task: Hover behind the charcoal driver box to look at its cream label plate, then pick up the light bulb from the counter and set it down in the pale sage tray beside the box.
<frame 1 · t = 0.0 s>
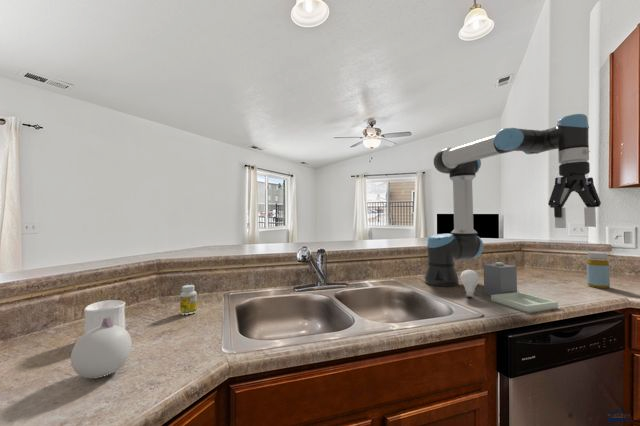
hand: (575, 227, 93), 28 cm above the worktop, fingers open, 13 cm apart
driver box: (500, 294, 114), on the worktop
supplement bottle: (188, 313, 100), on the worktop
ornament: (103, 375, 61), on the worktop
tray: (523, 304, 102), on the worktop
cup: (105, 340, 79), on the worktop
bottle: (598, 287, 124), on the worktop
light bulb: (470, 298, 112), on the worktop
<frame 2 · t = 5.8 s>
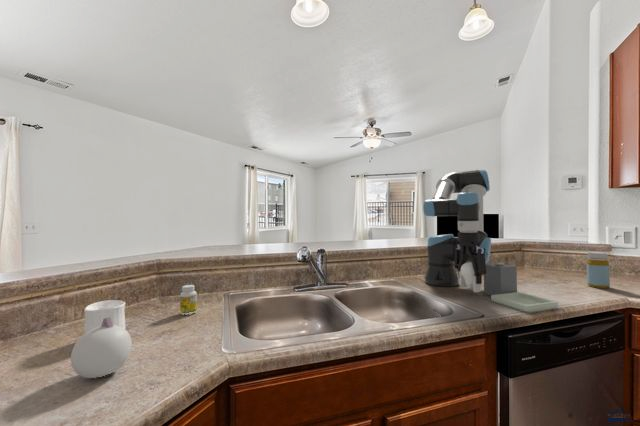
hand: (470, 289, 112), 3 cm above the worktop, fingers closed on light bulb, 6 cm apart
light bulb: (470, 290, 112), point 3 cm above the worktop, touching gripper
everything else where it was.
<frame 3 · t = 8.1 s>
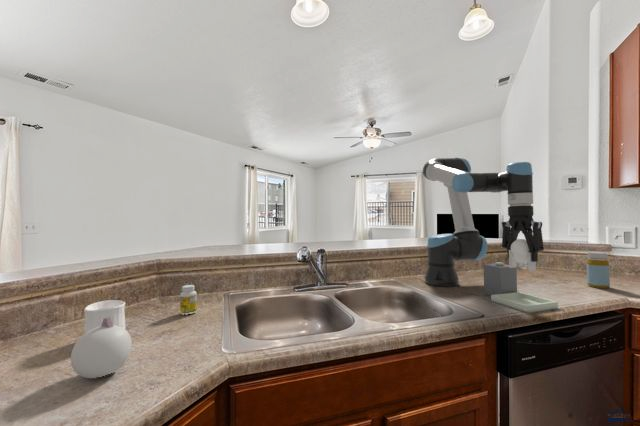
hand: (522, 268, 102), 13 cm above the worktop, fingers closed on light bulb, 6 cm apart
light bulb: (522, 270, 102), point 12 cm above the worktop, touching gripper
everything else where it was.
when the fingers open (2 cm above the worktop, at t = 10.2 s): light bulb drops 1 cm, resting on tray.
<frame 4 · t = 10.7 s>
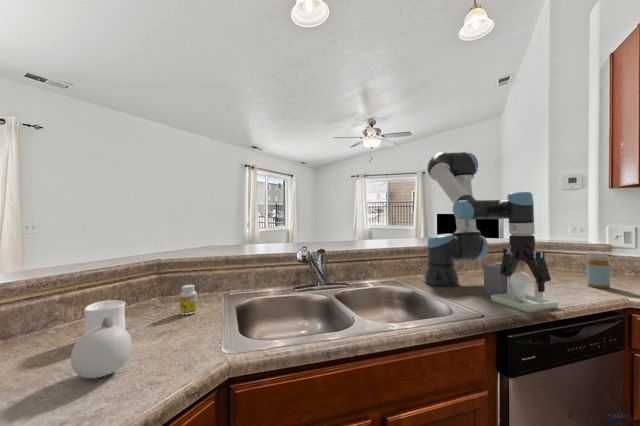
hand: (524, 297, 102), 3 cm above the worktop, fingers open, 10 cm apart
light bulb: (520, 302, 103), resting on tray
everything else where it was.
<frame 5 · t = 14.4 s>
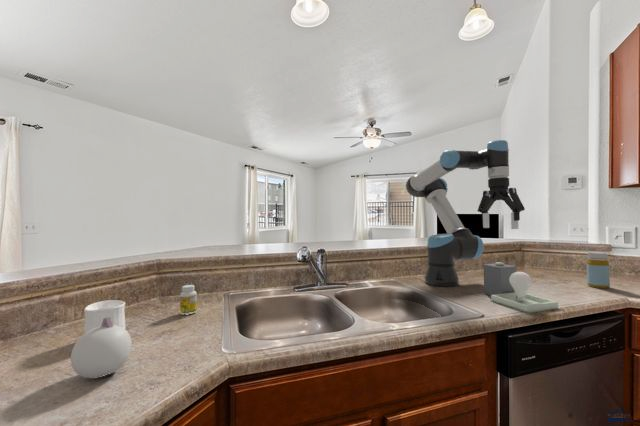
hand: (499, 228, 119), 27 cm above the worktop, fingers open, 13 cm apart
nothing on the worktop moved.
at the end: light bulb 0.8 cm from the tray (horizontally); light bulb resting on tray; the gripper is holding nothing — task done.
